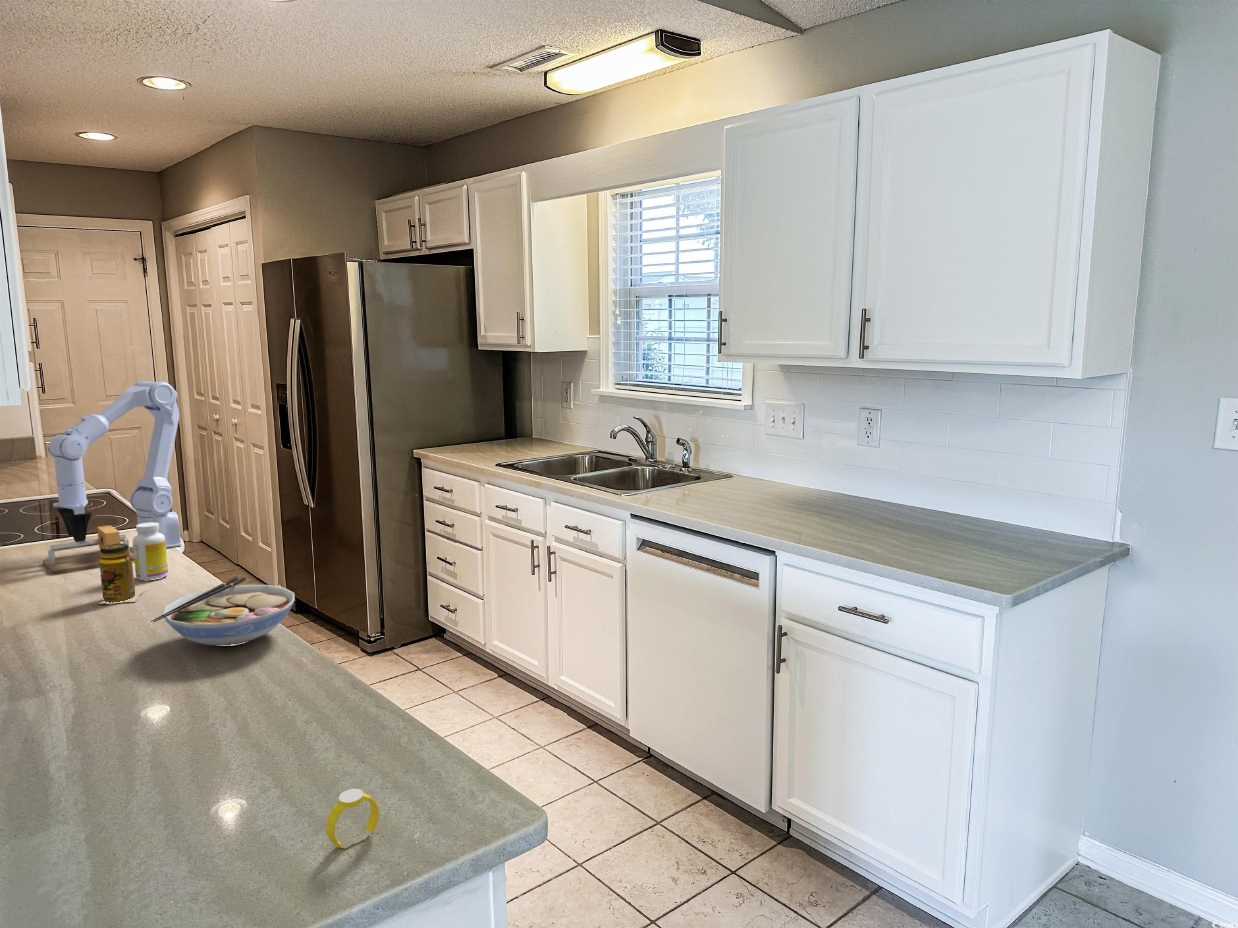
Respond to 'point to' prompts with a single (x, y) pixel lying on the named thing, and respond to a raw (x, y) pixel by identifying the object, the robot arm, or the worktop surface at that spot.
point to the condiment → (116, 573)
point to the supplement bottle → (149, 552)
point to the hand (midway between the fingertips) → (76, 538)
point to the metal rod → (78, 546)
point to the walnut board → (76, 563)
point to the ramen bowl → (229, 612)
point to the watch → (346, 801)
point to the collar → (108, 535)
